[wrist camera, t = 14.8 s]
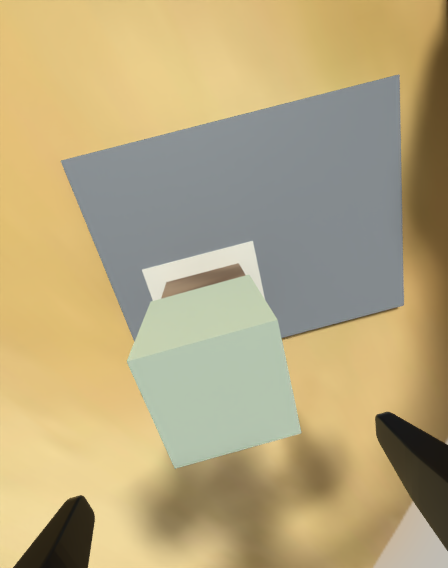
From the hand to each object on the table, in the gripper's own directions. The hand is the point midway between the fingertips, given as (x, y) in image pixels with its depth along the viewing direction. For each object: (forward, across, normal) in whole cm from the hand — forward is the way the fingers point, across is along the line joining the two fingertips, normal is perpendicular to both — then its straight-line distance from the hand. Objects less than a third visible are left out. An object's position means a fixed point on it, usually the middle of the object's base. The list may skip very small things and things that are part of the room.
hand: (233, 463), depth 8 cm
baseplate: (+12, -4, -4) cm, 14 cm away
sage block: (+7, 0, -1) cm, 7 cm away
